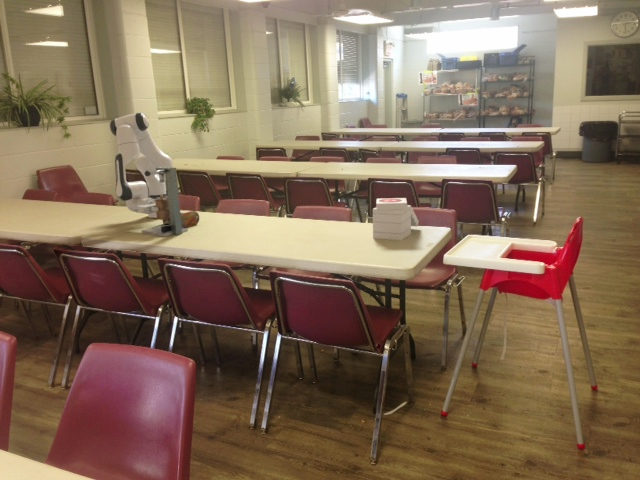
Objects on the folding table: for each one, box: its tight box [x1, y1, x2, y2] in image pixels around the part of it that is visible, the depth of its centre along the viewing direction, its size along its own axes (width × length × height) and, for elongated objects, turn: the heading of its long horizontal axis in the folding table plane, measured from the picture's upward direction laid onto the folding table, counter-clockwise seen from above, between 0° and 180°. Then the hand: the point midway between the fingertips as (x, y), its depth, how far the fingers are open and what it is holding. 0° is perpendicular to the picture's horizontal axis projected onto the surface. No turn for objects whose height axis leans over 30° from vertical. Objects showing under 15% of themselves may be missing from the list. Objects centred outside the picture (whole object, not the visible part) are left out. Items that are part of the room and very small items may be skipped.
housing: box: [155, 195, 170, 221], centre depth 315 cm, size 5×5×13 cm
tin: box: [181, 210, 200, 228], centre depth 331 cm, size 15×3×8 cm, turn 143°
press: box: [141, 166, 189, 238], centre depth 311 cm, size 22×22×36 cm
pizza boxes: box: [372, 197, 420, 241], centre depth 293 cm, size 19×30×18 cm, turn 153°
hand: (163, 208), depth 314 cm, fingers closed on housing, 5 cm apart
